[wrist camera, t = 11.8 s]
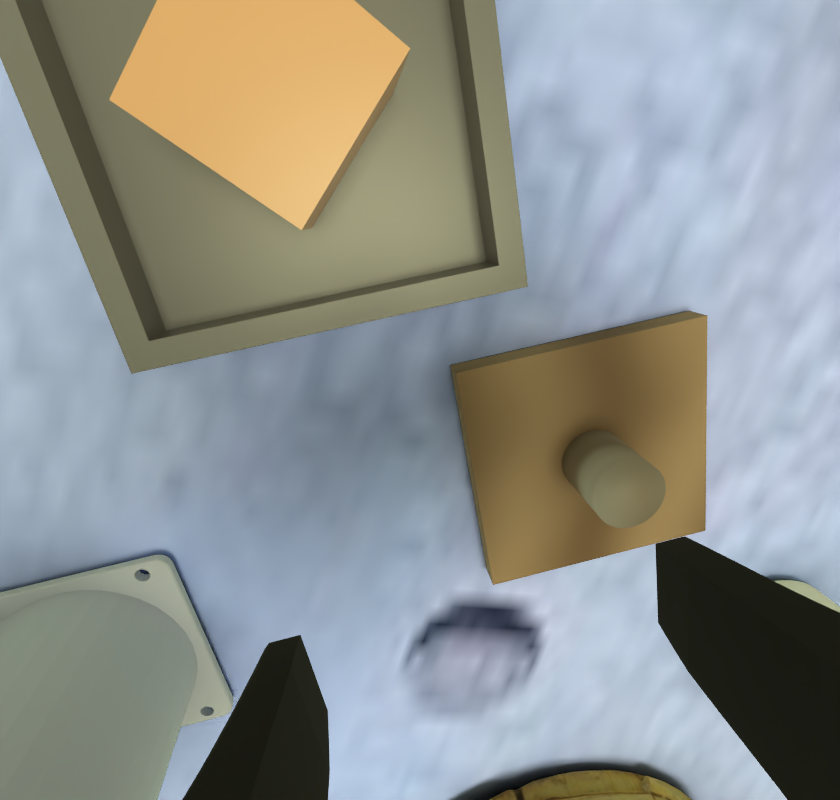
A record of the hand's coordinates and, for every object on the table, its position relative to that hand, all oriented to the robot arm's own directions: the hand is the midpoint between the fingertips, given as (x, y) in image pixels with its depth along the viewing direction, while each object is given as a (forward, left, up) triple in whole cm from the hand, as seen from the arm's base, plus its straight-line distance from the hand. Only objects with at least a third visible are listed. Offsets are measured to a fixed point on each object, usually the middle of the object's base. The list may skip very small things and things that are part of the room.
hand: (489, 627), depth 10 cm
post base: (+6, -2, -9) cm, 11 cm away
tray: (-2, +11, -9) cm, 15 cm away
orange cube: (-2, +11, -9) cm, 14 cm away
